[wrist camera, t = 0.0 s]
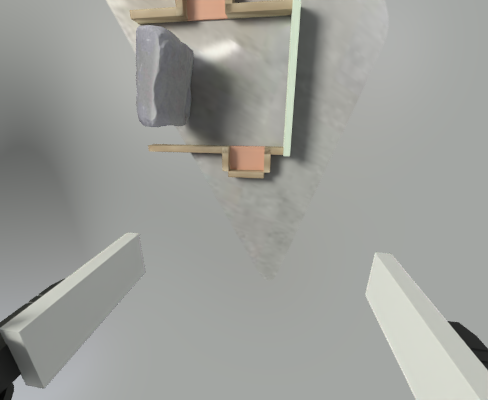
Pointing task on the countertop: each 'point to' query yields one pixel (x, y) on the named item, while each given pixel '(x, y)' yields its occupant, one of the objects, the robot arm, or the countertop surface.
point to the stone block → (162, 77)
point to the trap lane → (287, 3)
